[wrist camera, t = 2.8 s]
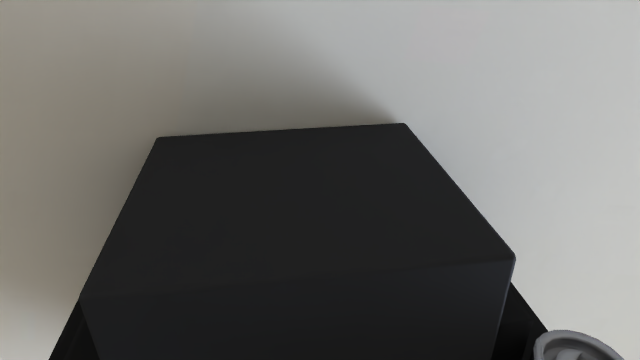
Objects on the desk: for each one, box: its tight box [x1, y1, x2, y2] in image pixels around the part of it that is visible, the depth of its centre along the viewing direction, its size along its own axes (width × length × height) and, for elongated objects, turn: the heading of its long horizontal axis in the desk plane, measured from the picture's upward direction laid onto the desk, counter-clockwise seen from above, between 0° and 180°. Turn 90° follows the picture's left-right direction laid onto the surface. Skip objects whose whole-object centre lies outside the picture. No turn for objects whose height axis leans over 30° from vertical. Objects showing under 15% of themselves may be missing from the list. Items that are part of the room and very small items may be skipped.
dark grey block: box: [79, 123, 516, 360], centre depth 8 cm, size 6×5×4 cm
